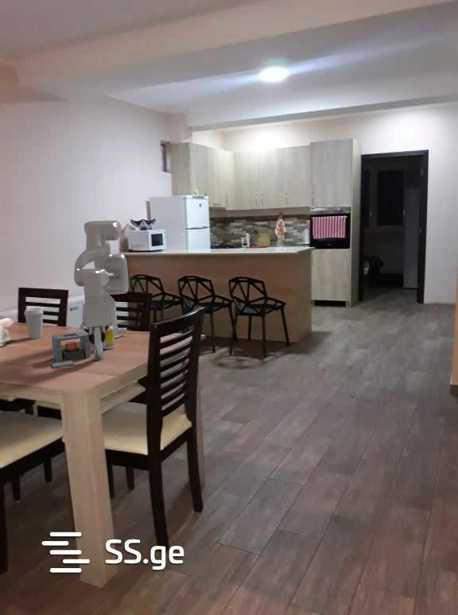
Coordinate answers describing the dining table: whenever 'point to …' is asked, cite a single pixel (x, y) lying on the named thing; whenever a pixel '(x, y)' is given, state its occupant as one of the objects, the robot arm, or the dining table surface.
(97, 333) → the silver metal cylinder
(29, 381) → the dining table surface
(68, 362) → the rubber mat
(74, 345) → the button
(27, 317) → the coffee cup
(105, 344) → the supplement bottle
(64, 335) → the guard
